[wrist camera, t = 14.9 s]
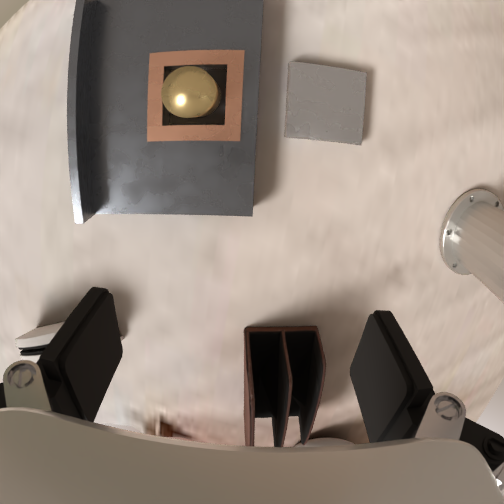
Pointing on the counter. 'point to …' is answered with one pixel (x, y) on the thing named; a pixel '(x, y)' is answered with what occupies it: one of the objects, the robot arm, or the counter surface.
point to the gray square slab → (325, 103)
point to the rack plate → (160, 107)
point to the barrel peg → (190, 92)
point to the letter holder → (282, 378)
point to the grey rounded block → (37, 341)
